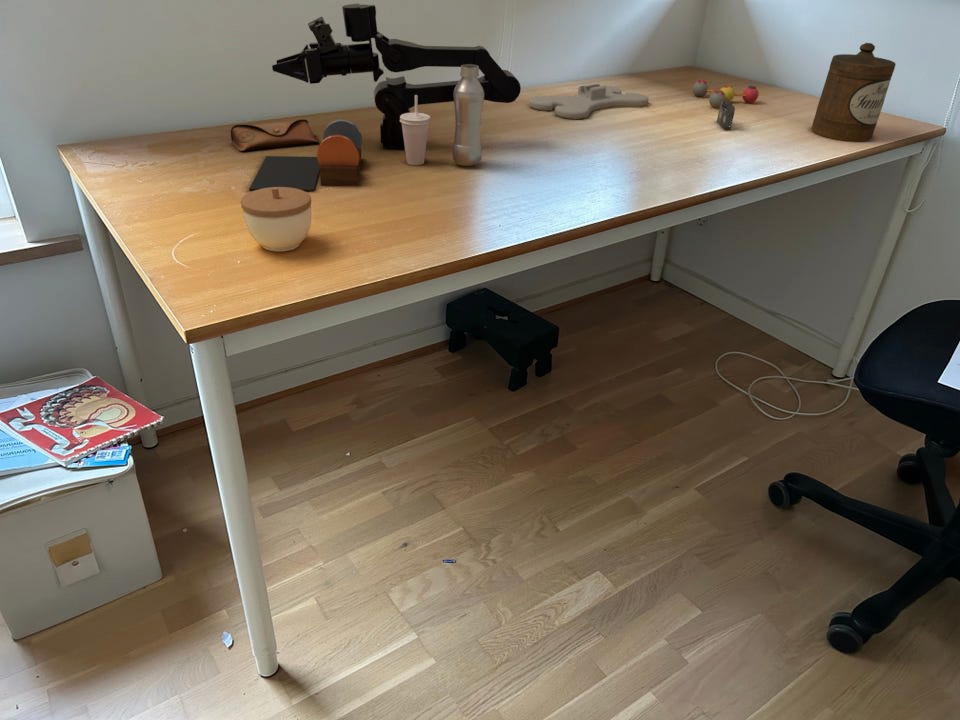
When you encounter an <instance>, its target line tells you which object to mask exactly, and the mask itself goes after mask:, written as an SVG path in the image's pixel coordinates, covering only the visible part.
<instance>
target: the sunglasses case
mask: <svg viewBox="0 0 960 720" xmlns="http://www.w3.org/2000/svg"><path fill="white" fill-rule="evenodd" d="M230 140H231V143H232V145H233V146H234V148H235V149H237V150H238V151H240V152H245V151H252V150H261V149H263V150H264V149H265V150H266V149H276V148H288V147H289V148H290V147H298V146H304V145H310V144H314V143H319V141H318V140H317V139H316V138H315V136H314V133H313V131H312V128H311V126H310V125H309V121H308V120H307V119H304V118H303V119H302V118H301V119H296V120H291V121H276V122H264V123H263V122H262V123H255V124H249V123H243V124H242V123H241V124H235V125H233V126H232V127H231V129H230Z"/></svg>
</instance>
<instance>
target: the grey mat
mask: <svg viewBox="0 0 960 720" xmlns="http://www.w3.org/2000/svg"><path fill="white" fill-rule="evenodd" d="M319 168H320V165H319V162H318V159H317V156H287V155H286V156H285V155H284V156H283V155H282V156H281V155H267V156H265V158H264V160H263V162H262V164H261V166H260V167H259V169H258V170H257V173H256V174H255V176H254V179H253V181H252V183H251V184H250V186H249V188H248V191H250V192H252V191H255V190H258V189H263V188H270V187H289V188H296V189H300V190H303V191H305V192H314V191H315V188H316V185H317V182H318V179H319V177H320V169H319Z"/></svg>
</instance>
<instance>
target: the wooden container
mask: <svg viewBox="0 0 960 720" xmlns="http://www.w3.org/2000/svg"><path fill="white" fill-rule="evenodd" d="M859 50H860V51H859V52H858V53H856V54H852V53H851V54H850V53H849V54H848V53H847V54H846V53H844V54H843V53H841V54H836V55H832V58H831V60H830V65H829V69H828V72H827V74H826V78H825V82H824V85H823V89H822V91H821V94H820V97H819V100H818V103H817V107H816V110H815V113H814V114H815V115H814V117H813V121H812V125H811V131H812V132H813V133H815V134H817V135H818V136H822V137H824V138H828V139H831V140H838V141H844V142H866V141H869V140H871V139H872V138H873V135H874V132H875V130H876V127H877V123H878V121H879V118H880V116H881V112H882V109H883V106H884V103H885V99H886V96H887V93H888V90H889V86H890V83H891V80H892V77H893V74H894V71H895V68H896V65H897V63H896V62H895V61H893V60H890V59H887V58H882V57H879V56H878V57H877V56H875V55H874V53H873V52H874V51H875V50H876V46H875V45H874V44H873V43H871V42H864V43H862V44H861V45H860V46H859Z"/></svg>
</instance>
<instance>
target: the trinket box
mask: <svg viewBox="0 0 960 720" xmlns="http://www.w3.org/2000/svg"><path fill="white" fill-rule="evenodd" d="M240 206H241V209H242V215H243V219H244V223H245V226H246V229H247V232H248V233H249V235H250V236H251V238H252V239H253V240H254V241H255V242H256V243H258V244H259V245H261V247H262V248H263V249H264V250H266V251H269V252H276V253H277V252H278V253H282V252H288V251H293V250H295V249H297V248H298V247H300V246H301V243H302V242H303V241H304V240H305V239H306V238H307V236H308V234H309V232H310V229H311V225H312V197H311V195H310V193H308V191H303V190H300V189H296V188H289V187H270V188H263V189H258V190H255V191H250V192H247V193H246V194H244V195H243V196H242V197H241V199H240Z"/></svg>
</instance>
